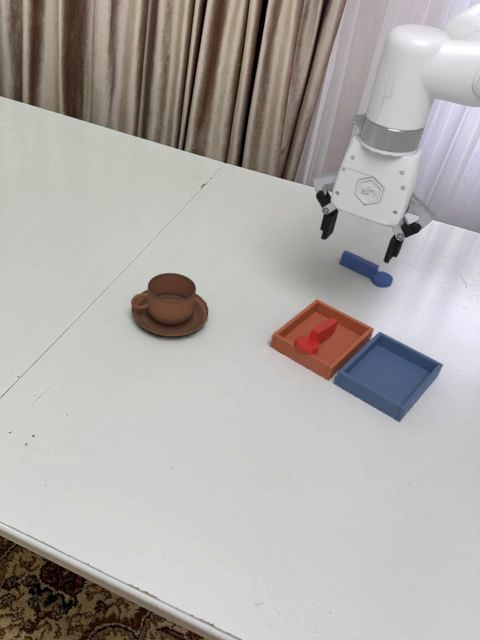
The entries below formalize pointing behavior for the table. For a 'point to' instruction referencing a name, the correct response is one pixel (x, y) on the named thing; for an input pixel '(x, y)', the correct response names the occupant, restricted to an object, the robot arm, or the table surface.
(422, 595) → the table surface
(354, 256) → the blue spoon
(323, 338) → the red spoon
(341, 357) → the terracotta tray
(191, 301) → the cup and saucer
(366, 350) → the slate tray
